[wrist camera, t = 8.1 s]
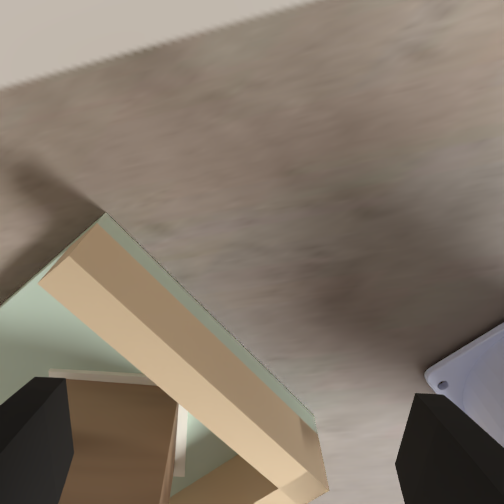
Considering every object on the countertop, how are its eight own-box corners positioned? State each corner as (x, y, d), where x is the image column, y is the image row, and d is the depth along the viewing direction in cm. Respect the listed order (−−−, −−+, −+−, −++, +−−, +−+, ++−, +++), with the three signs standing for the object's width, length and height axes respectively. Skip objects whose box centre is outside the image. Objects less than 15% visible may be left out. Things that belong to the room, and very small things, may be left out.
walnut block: (174, 468, 22) (152, 610, 16) (68, 461, 21) (9, 604, 16) (179, 387, 20) (156, 517, 14) (63, 378, 19) (-7, 507, 14)
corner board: (313, 415, 22) (329, 490, 18) (60, 574, 27) (30, 661, 23) (105, 212, 18) (68, 255, 14) (-158, 445, 22) (-241, 526, 18)
